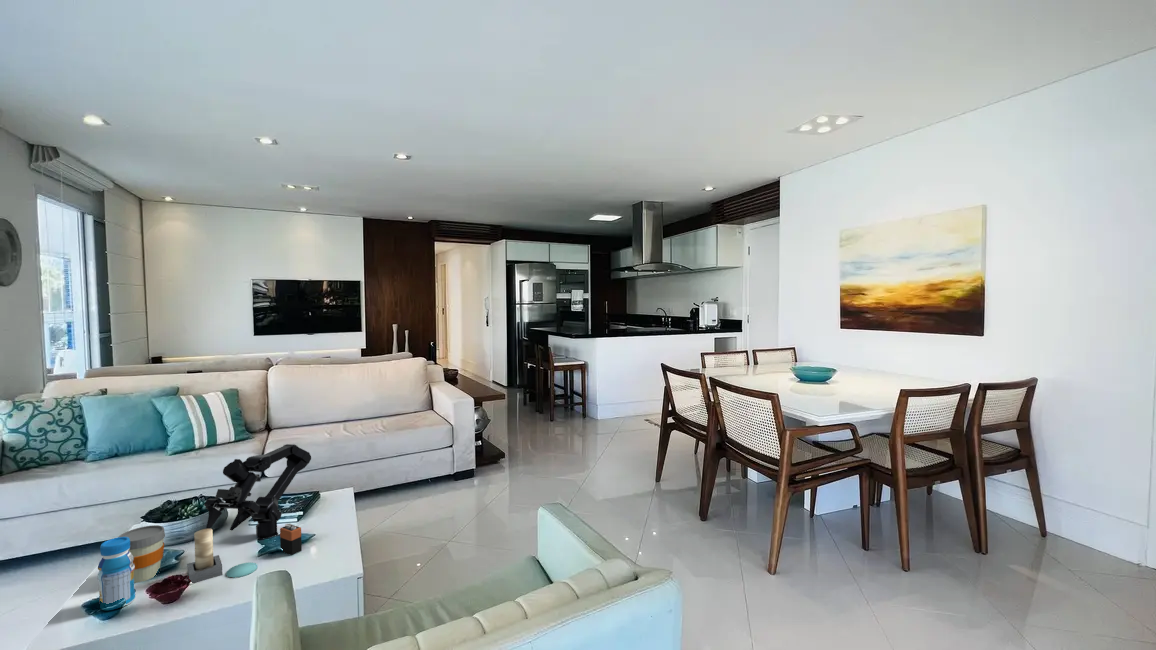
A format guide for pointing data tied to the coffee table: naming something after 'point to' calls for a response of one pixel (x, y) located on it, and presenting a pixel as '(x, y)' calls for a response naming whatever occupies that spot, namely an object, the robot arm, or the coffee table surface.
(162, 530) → the reusable coffee cup
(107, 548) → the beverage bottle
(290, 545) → the battery
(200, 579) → the socket block
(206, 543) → the plug
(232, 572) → the mat
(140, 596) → the coffee table surface
